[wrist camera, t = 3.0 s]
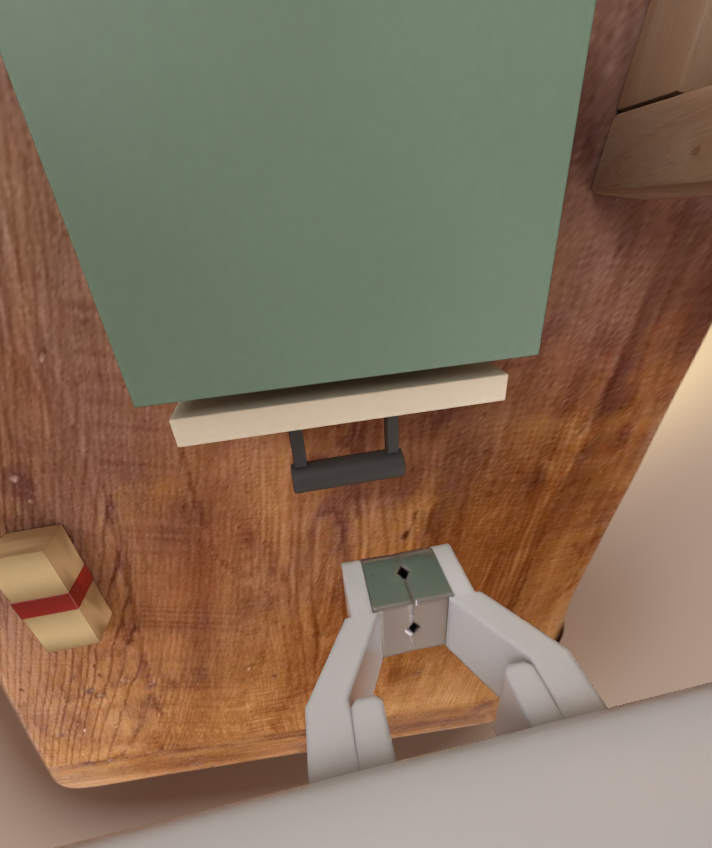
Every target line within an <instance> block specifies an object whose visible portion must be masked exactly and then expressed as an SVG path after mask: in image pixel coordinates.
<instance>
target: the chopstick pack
mask: <svg viewBox="0 0 712 848" xmlns="http://www.w3.org/2000/svg"><path fill="white" fill-rule="evenodd" d="M0 589H1V591H2V592H3V593H4V595H5V596H6V597H7V599H8V600H9V601H10V603H11V604H10V605H11V606H12V607H13V609H14V610H15V611H16V613H17V614H18V615H19V617H20V618H21V619H22V620H24V621H25V623H26V624H27V625H28V627H29V628H30V629H31V631H32V632H33V633H34V635H35V636H36V637H37V639H38V640H39V641H40V643H41V644H42V645H43V647H44V648H45V649H46V651H47V652H48V653H51V652H56V651H61V650H66V649H71V648H76V647H81V646H86V645H91V644H96V643H100V641H101V638H102V636H103V634H104V631H105V629H106V627H107V624H108V622H109V619H110V617H111V615H112V612H111V610H110V608H109V607H108V605H107V603H106V601H105V600H104V598H103V596H102V594H101V593H100V591H99V589H98V587H97V586H96V584H95V582H94V578H93V576H92V575H91V573H90V571H89V569H88V568H87V566H86V564H84V563H83V561H82V559H81V558H80V556H79V554H78V552H77V551H76V549H75V547H74V545H73V544H72V542H71V540H70V538H69V537H68V535H67V533H66V531H65V529H64V528H63V526H62V524H59V525H53V526H47V527H41V528H35V529H29V530H22V531H16V532H10V533H5V534H4V535H3V536H2V537H1V538H0Z"/></svg>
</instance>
